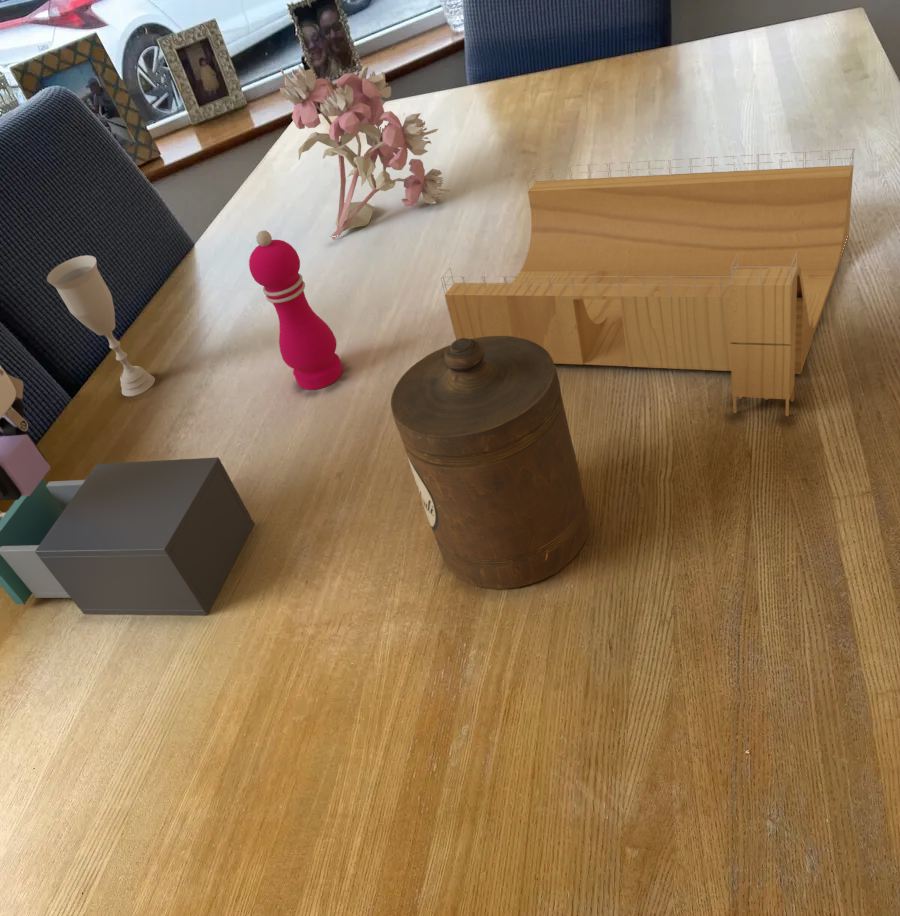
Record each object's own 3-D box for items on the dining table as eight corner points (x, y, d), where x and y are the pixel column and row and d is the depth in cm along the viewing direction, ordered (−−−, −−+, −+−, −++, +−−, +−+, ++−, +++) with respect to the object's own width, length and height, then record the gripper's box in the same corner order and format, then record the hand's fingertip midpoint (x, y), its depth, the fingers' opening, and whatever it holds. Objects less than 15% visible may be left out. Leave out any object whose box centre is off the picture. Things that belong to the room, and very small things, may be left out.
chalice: (166, 384, 132) (102, 266, 119) (122, 407, 131) (52, 290, 118) (152, 364, 137) (89, 249, 124) (110, 386, 136) (41, 272, 123)
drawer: (-28, 603, 106) (-72, 555, 101) (28, 527, 114) (-10, 478, 109) (124, 604, 99) (86, 552, 94) (172, 523, 107) (140, 471, 102)
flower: (389, 257, 138) (398, 62, 126) (272, 237, 148) (270, 54, 136) (460, 248, 153) (474, 73, 142) (350, 230, 163) (354, 66, 152)
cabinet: (83, 614, 101) (34, 551, 95) (138, 526, 110) (96, 463, 103) (207, 615, 96) (164, 549, 90) (254, 523, 105) (218, 456, 98)
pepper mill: (286, 377, 125) (224, 235, 111) (334, 353, 126) (278, 209, 112) (305, 399, 120) (242, 254, 106) (354, 374, 121) (299, 227, 107)
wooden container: (471, 481, 100) (415, 297, 85) (606, 489, 94) (572, 292, 79) (419, 582, 92) (346, 397, 76) (564, 599, 86) (517, 401, 70)
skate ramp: (849, 244, 115) (858, 105, 104) (789, 416, 95) (792, 267, 84) (546, 249, 133) (526, 131, 122) (440, 394, 113) (405, 269, 101)
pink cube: (-5, 497, 97) (-30, 464, 94) (17, 469, 100) (-7, 436, 97) (29, 496, 96) (4, 462, 93) (51, 467, 98) (27, 434, 95)
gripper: (-70, 283, 91) (34, 432, 104) (-183, 387, 81) (-51, 539, 94) (-10, 274, 89) (89, 428, 102) (-119, 380, 78) (8, 537, 91)
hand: (21, 480), depth 98 cm, fingers closed on pink cube, 4 cm apart
